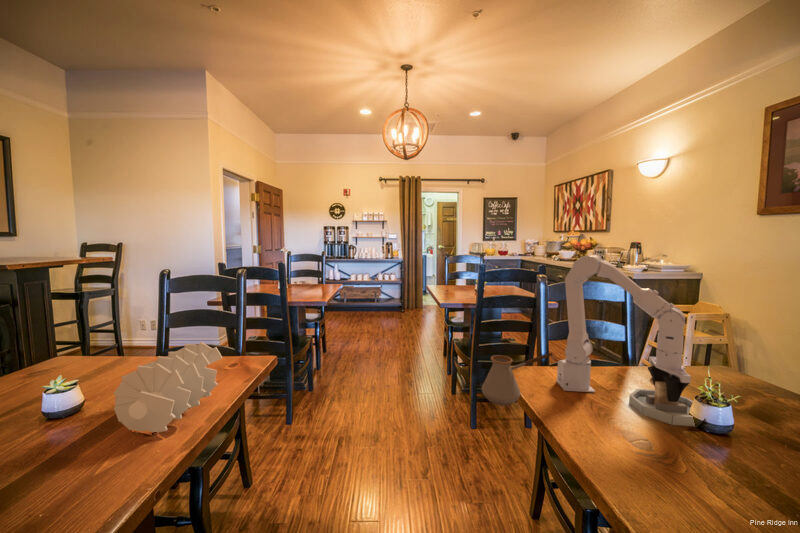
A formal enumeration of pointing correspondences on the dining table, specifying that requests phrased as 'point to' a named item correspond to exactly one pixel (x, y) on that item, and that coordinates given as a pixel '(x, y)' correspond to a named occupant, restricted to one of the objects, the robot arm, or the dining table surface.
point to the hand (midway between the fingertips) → (666, 396)
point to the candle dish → (658, 414)
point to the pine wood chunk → (661, 393)
